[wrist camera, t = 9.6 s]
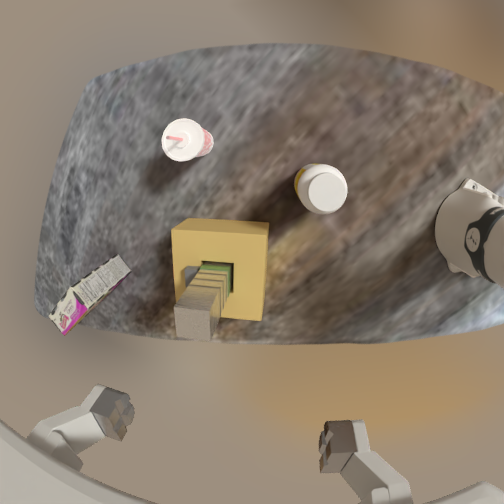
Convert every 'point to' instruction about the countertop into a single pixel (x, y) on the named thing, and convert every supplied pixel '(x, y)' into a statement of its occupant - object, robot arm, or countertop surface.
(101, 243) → the countertop surface
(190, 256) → the housing
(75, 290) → the candy bar box
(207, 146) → the beverage cup
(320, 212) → the supplement bottle
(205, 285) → the column
